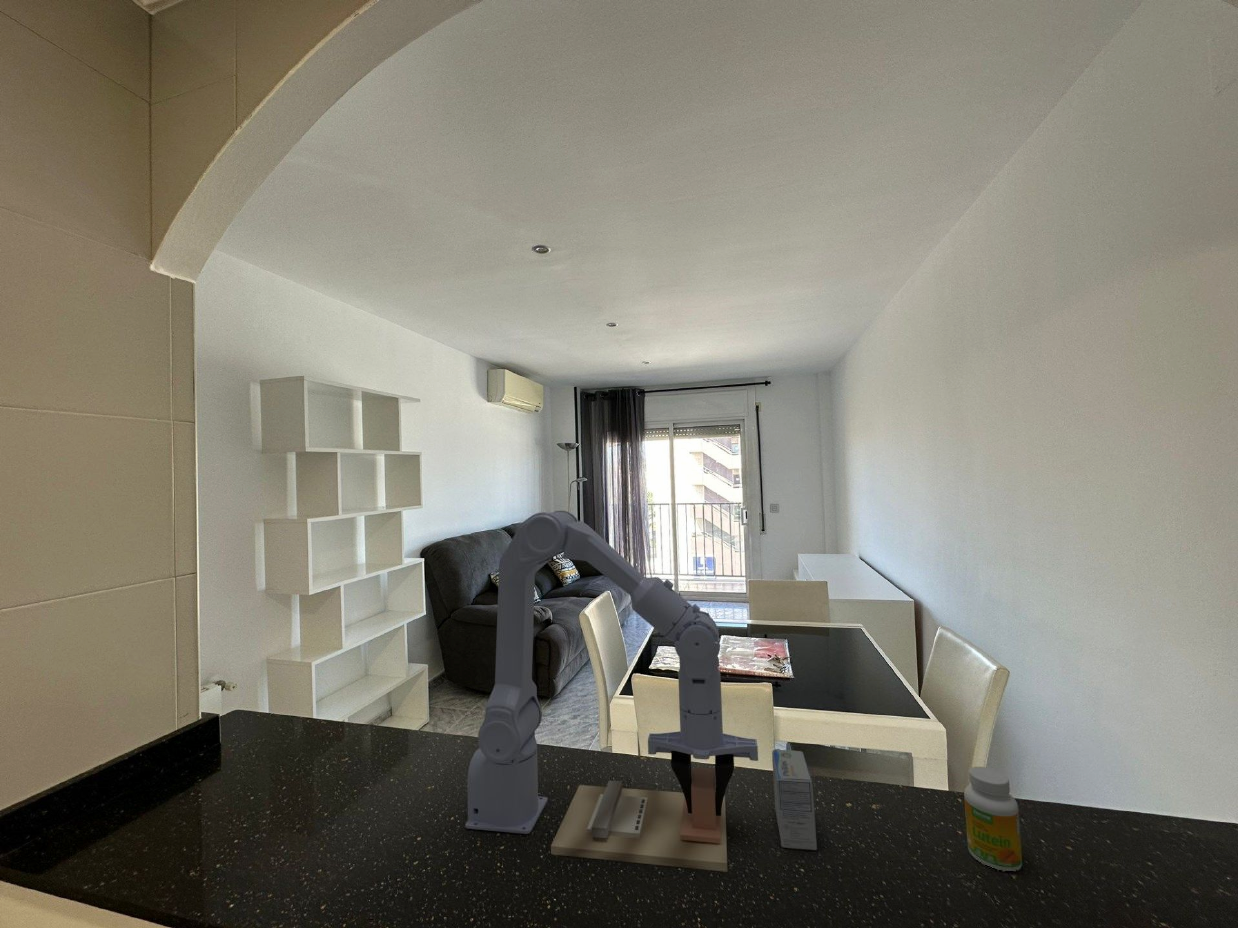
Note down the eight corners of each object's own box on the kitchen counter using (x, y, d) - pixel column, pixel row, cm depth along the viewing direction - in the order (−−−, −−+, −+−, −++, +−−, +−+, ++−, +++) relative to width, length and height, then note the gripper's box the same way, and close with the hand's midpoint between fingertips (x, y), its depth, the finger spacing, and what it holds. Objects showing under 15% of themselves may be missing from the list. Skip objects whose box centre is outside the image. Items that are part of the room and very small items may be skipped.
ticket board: (551, 853, 65) (550, 831, 66) (579, 791, 79) (579, 772, 79) (727, 871, 61) (726, 847, 62) (725, 802, 75) (724, 782, 75)
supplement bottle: (967, 862, 62) (961, 778, 62) (967, 837, 66) (962, 759, 67) (1024, 880, 59) (1017, 791, 59) (1020, 852, 63) (1014, 770, 64)
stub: (680, 839, 65) (678, 792, 66) (684, 802, 73) (682, 761, 74) (720, 842, 65) (718, 795, 65) (719, 805, 72) (718, 763, 73)
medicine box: (817, 852, 64) (813, 780, 65) (780, 848, 65) (776, 777, 66) (807, 813, 72) (804, 750, 73) (774, 811, 73) (771, 748, 73)
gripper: (643, 715, 67) (647, 824, 66) (757, 721, 65) (763, 834, 64) (650, 695, 74) (653, 792, 73) (753, 699, 71) (758, 800, 71)
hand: (704, 810), depth 69 cm, fingers closed on stub, 3 cm apart
